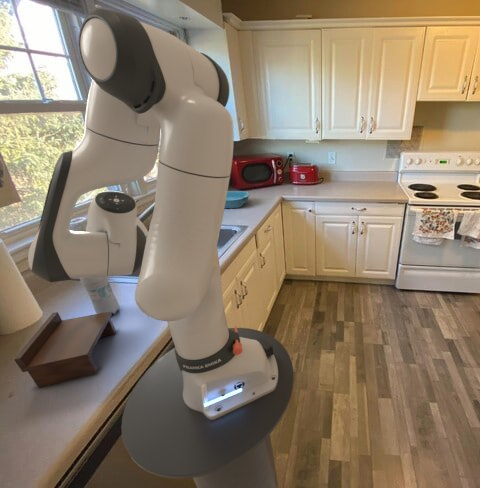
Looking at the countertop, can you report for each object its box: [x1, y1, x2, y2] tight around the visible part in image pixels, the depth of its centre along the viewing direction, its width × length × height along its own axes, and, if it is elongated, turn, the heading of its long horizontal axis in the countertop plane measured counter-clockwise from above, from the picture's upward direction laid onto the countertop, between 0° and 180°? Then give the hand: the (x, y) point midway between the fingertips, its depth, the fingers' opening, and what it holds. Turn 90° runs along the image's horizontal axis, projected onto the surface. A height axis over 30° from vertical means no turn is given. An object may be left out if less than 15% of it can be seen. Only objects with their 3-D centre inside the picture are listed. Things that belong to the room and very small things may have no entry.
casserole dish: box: [224, 190, 251, 209], centre depth 196 cm, size 37×22×7 cm, turn 85°
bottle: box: [79, 276, 120, 315], centre depth 89 cm, size 7×7×20 cm
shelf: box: [13, 311, 117, 388], centre depth 74 cm, size 13×17×10 cm
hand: (103, 261), depth 78 cm, fingers open, 8 cm apart
